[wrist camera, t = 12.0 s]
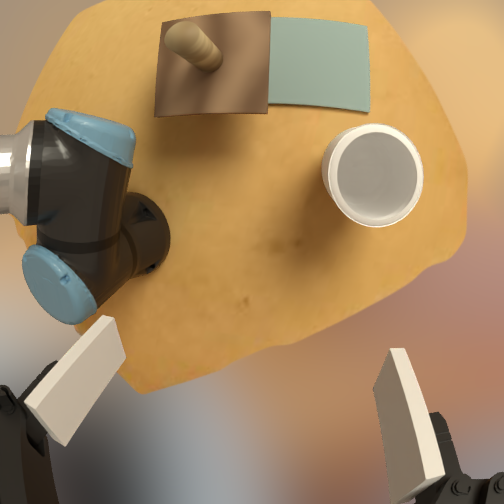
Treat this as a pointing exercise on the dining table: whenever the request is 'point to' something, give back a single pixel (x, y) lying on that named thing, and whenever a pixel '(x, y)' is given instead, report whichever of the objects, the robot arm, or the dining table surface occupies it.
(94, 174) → the robot arm
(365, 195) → the jar
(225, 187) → the dining table surface
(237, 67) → the lid
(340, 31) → the mat
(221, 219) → the dining table surface
